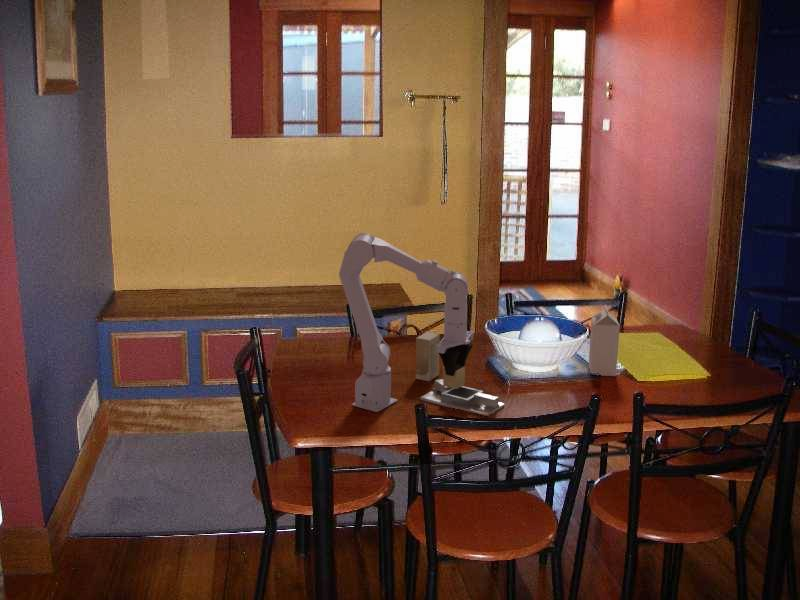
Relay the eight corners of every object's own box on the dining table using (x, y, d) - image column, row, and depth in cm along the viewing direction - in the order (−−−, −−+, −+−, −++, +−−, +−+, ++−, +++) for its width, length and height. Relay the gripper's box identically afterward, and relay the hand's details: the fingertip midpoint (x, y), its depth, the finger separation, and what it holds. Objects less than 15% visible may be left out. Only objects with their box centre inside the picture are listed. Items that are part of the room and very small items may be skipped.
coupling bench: (487, 417, 235) (487, 403, 234) (420, 399, 246) (420, 386, 245) (504, 406, 242) (505, 393, 241) (438, 389, 253) (438, 377, 252)
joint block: (456, 389, 238) (456, 370, 237) (443, 385, 240) (443, 367, 239) (464, 384, 241) (465, 366, 240) (451, 381, 244) (451, 363, 242)
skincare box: (426, 372, 266) (426, 331, 263) (439, 375, 264) (440, 333, 261) (414, 379, 261) (415, 337, 258) (428, 382, 259) (429, 339, 256)
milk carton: (613, 368, 271) (617, 305, 266) (616, 376, 264) (621, 312, 259) (588, 367, 272) (592, 304, 267) (590, 375, 265) (594, 311, 260)
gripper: (453, 331, 228) (452, 384, 232) (483, 317, 240) (482, 368, 243) (429, 326, 232) (428, 378, 236) (460, 313, 244) (459, 362, 247)
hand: (454, 372), depth 240 cm, fingers closed on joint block, 4 cm apart
